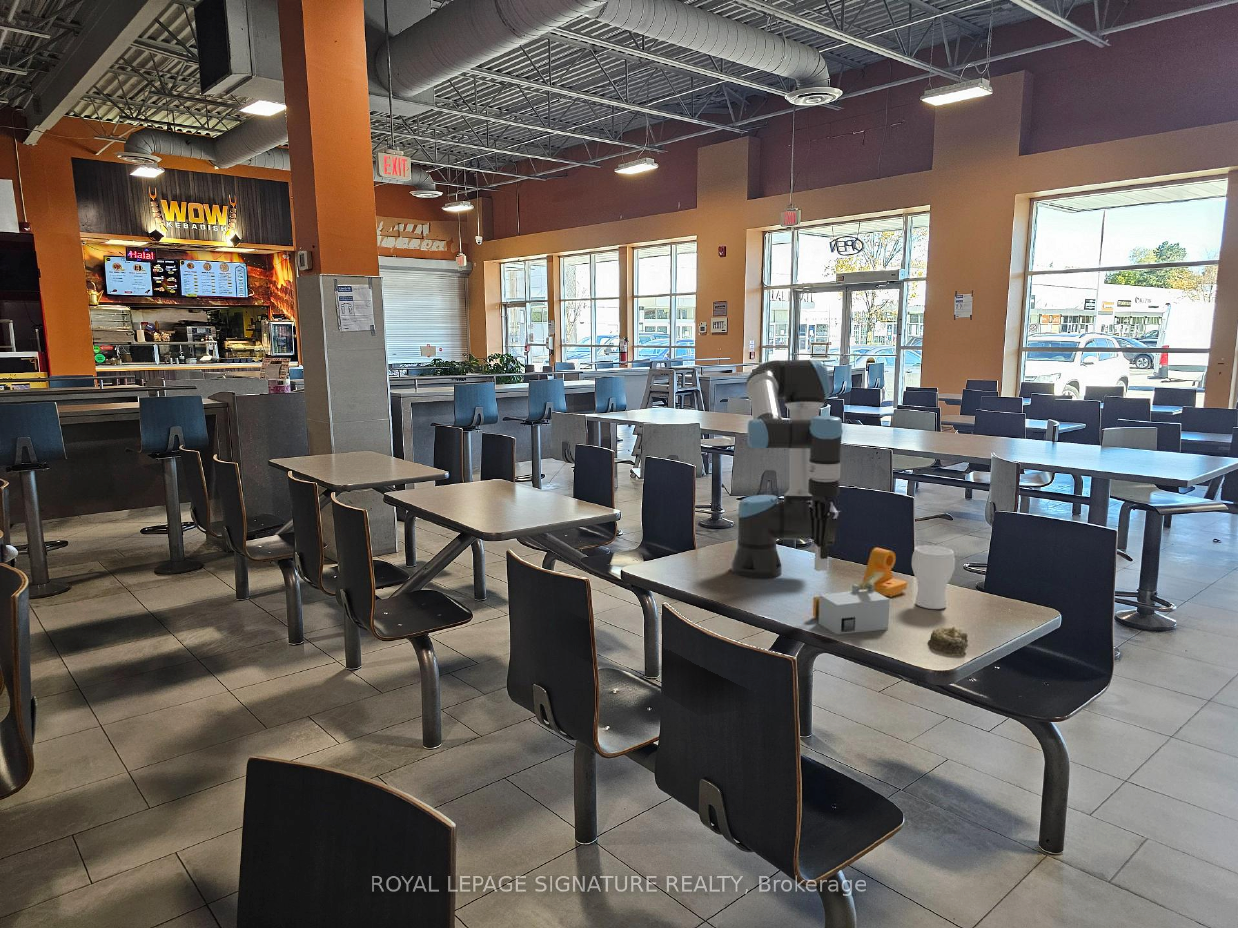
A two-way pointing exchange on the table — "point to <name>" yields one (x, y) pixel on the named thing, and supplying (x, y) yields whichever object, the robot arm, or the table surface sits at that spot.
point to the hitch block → (854, 610)
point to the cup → (932, 574)
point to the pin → (846, 622)
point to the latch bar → (870, 580)
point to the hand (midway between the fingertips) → (820, 569)
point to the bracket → (884, 563)
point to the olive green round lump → (948, 641)
